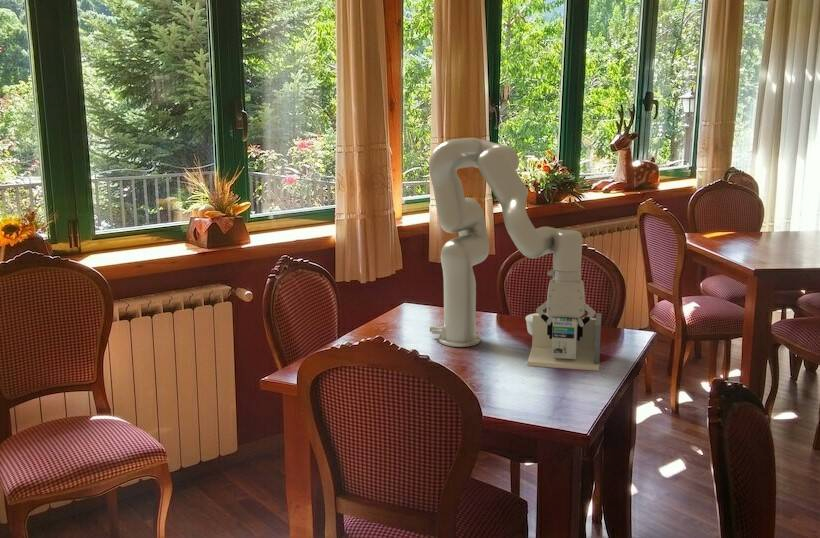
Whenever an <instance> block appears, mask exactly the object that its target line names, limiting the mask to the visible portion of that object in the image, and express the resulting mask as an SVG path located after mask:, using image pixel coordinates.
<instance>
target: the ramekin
mask: <svg viewBox="0 0 820 538" xmlns="http://www.w3.org/2000/svg"><path fill="white" fill-rule="evenodd" d="M544 313H545V314H546V315H547V312H544ZM533 315H539V314H538V313H537V312H535V313H530V314H528V315H525V321H526V329H527V333H528V334H529V335H530V336H532V333H533ZM547 316H548V315H547Z"/></svg>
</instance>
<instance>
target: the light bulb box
mask: <svg viewBox="0 0 820 538" xmlns="http://www.w3.org/2000/svg"><path fill="white" fill-rule="evenodd" d="M576 352H577V318H558V317H553V336H552V358H566V359H576Z"/></svg>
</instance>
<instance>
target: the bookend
mask: <svg viewBox="0 0 820 538" xmlns="http://www.w3.org/2000/svg"><path fill="white" fill-rule="evenodd" d="M595 318H596V325H595V350H594V364H598V365H599V366H600V353H601V333H602V332H601V331H602V329H601V328H602V313H601V312H600V313H599V312H595Z"/></svg>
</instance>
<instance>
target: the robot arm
mask: <svg viewBox="0 0 820 538" xmlns="http://www.w3.org/2000/svg"><path fill="white" fill-rule="evenodd" d="M428 160H429V161H428V171H429V176H430V180H431V184H432V188H433V193H434V194H433V195H434V201H435V207H436V211H437V218H438V223H439V225H440V228H441V229H442V230H443V232H445V233H448V234H455V233H458V236H455V237H454V238H451V239H449V240H447V241H446V242H445V243H444V244H443V246H442V247H441V251H440V263H441V268H442V277H443V278H442V279H443V325H440V326H438V325H430V326H429V332H430V333H431V334H433V335H438V341H439V343H440V344H442V345H444V346H447V347H455V348H464V347H465V348H466V347H471V346H472V347H473V346H476V345H478V344H480V343H481V339H482V338H481V336H480V335H479V334H477V333H476V324H477V323H476V316H477V314H476V313H477V312H476V311H477V310H476V309H477V305H476V304H477V303H476V302H477V299H476V298H477V290H476V288H477V283H476V276H475V273H474V269H473V266H475V265H479V264H481V263H482V262H484V261H485V260H486V259H487V258H488V256H489V253H490V241H489V235H488V230H487V229H488V228H487V223H486V218H485V214H484V211H483V208H482V206H481V204H480V203H479V202H478V200H476V199H474V198H471V197H465V193H464V188H463V187H464V186H463V182H462V180H461V178H460V177H459V175H458V172H457V171H458V170H459V169H465V168H476V169H478V170H479V172H480V174H481V176H483V179H484V180H485V182H486V183H487V185H488V188H490V189H491V192H492V194H493V195H494V196H495V198H496V199H497V201H498V202H499V205H500V207H501V210H502V211H501V212H502V218H503V222H504V226H505V228H506V232H507V234H508V235H509V236H510V239H511V240H512V242H513V244H514V245H515V247H516V248H517V249H518V251H519V252H520V253H521V254H522V255H523V256H524V257H526V258H528V259H538V258H541V257H543V256H545V255H549V254H552V253H553V254H552V269H551V270H547V277H548V276H549V277H551V279H550V280H549V283H548V287H547V297H546V301H545V302H544V303H542V304H541V305H539V306H538V307H537V308H536V309H535V313H538V314H539V315H540V317H541V318H542V319H543V320H544V321H545V322H546V324H547V335H549V339H552V336H553V323H552V320H553V317H558V318H577V321H578V327H577V340H578V341H580V337H582V336H583V326H584V325H585V324H586V323H587V322H588V321H589V320H590V319H591V318H593V317H595V316H596V311H595V310H594V309H593V308H592V307H591V306H589V304H588V303H586V298H585V297H586V295H585V292H586V291H585V285H584V284H585V283H584V280H582V256H583V255H582V254H583V253H582V252H583V235H582V233H581V232H580V231H578V230H572V229H560V228H556V227H551V226H541V227H538V228H535V226H534V224H533V223H532V220H530V218H529V215H528V213H527V209H526V207H527V204H526V202H527V198H528V194H529V190H528V188H527V186H526V185H525V183H524V181H523V180H522V178H521V177H520V175H519V173H518V172H517V170H518V168H519V166H520V158H519V155H518V153H517V152H516V151H515V150H514V149H513V148H512V147H510V146H507V145H504V144H502V143H501V144H499V143H496V142H492V141H488V140H486V139H485V140H484V139H482V138H477V137H463V138H453V139H449V140H445V141H443V142H441V143H440V144H439V145H437V146H436V147H435V148H434V150H433V151H432V152H431V155H430V157H429V159H428ZM545 309H546V312H544V310H545ZM585 311H586V312H587V313H588V314H587V315H586V316H585V317H584V315H585ZM545 313H547V315H548V316H549V317H548V316H547V315H546V314H545Z"/></svg>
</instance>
